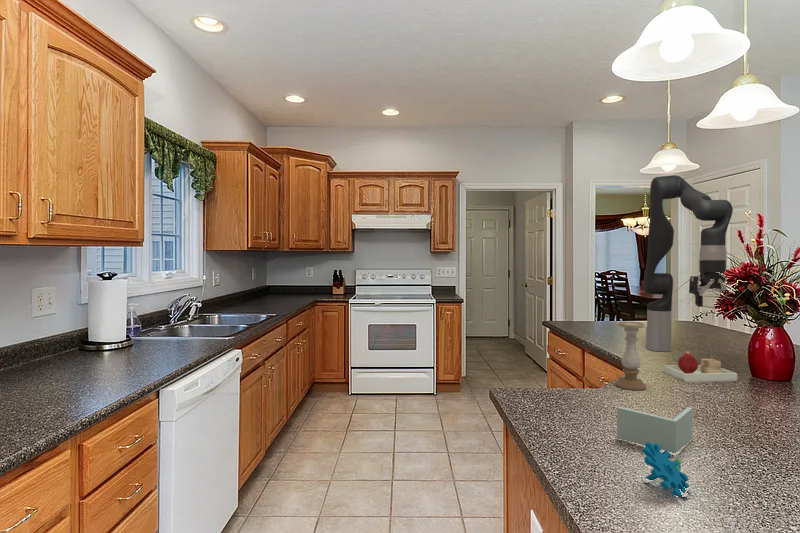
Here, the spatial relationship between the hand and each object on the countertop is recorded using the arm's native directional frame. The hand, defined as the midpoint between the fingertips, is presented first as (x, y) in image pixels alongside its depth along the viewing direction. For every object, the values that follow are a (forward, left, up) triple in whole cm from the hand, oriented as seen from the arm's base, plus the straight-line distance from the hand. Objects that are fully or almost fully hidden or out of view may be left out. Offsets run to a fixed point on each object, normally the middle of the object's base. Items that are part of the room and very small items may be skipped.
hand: (711, 306), depth 156 cm
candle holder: (+10, -33, -24) cm, 42 cm away
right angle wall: (+51, -49, -24) cm, 75 cm away
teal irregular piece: (+72, -59, -24) cm, 96 cm away
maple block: (0, 0, -24) cm, 24 cm away
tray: (0, -4, -24) cm, 24 cm away
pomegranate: (0, -8, -24) cm, 25 cm away
